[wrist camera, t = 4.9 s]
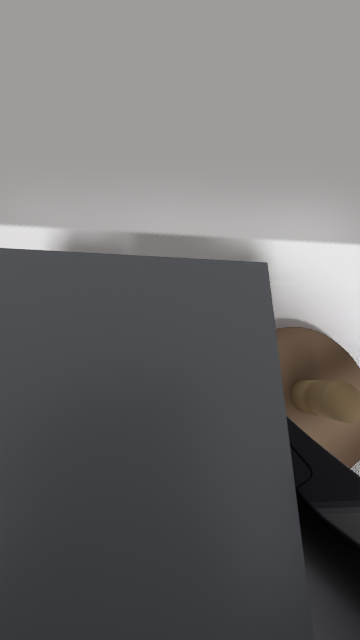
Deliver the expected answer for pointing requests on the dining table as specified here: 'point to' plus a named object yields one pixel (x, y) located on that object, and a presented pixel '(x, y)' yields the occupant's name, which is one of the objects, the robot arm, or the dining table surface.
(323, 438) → the stub base
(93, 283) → the block
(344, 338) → the dining table surface
